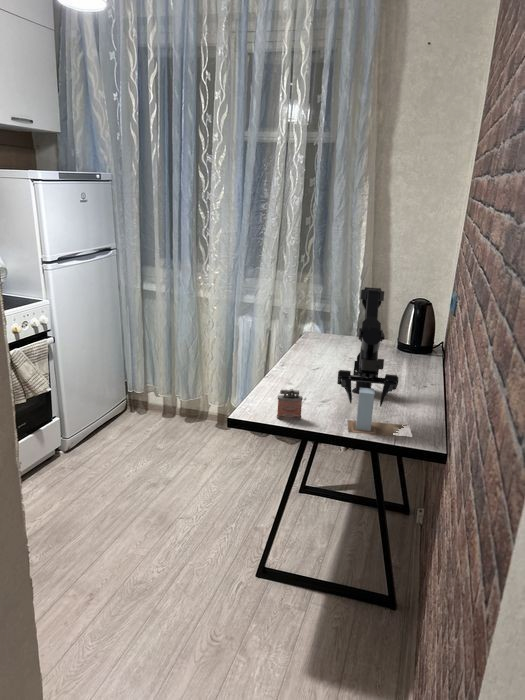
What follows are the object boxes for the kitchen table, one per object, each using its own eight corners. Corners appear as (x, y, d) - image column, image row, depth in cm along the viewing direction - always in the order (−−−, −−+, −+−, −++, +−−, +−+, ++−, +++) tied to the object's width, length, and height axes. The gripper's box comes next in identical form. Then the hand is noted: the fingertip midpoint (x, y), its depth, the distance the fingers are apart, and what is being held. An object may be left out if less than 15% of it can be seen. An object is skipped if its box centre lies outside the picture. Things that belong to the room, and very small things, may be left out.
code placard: (409, 425, 174) (409, 425, 174) (413, 438, 166) (413, 437, 166) (347, 420, 176) (347, 420, 176) (348, 432, 168) (348, 432, 168)
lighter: (300, 416, 178) (302, 388, 175) (301, 420, 175) (303, 391, 172) (276, 415, 178) (277, 387, 175) (276, 420, 175) (278, 391, 172)
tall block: (356, 423, 174) (359, 387, 170) (370, 425, 173) (374, 388, 170) (355, 429, 170) (359, 392, 166) (370, 431, 169) (374, 393, 165)
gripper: (340, 345, 169) (336, 391, 162) (401, 351, 166) (399, 397, 159) (339, 361, 179) (335, 405, 172) (396, 367, 176) (395, 411, 169)
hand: (365, 404), depth 168 cm, fingers open, 9 cm apart
